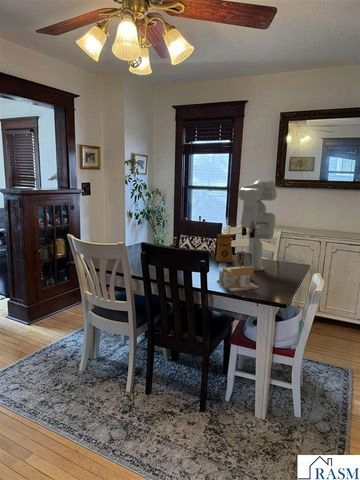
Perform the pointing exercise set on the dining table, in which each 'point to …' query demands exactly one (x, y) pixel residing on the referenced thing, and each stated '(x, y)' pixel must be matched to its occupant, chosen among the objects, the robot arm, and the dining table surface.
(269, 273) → the dining table surface
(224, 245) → the coffee package
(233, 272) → the tan u-shaped bracket
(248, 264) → the coffee box
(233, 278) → the white block cluster
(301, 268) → the dining table surface
